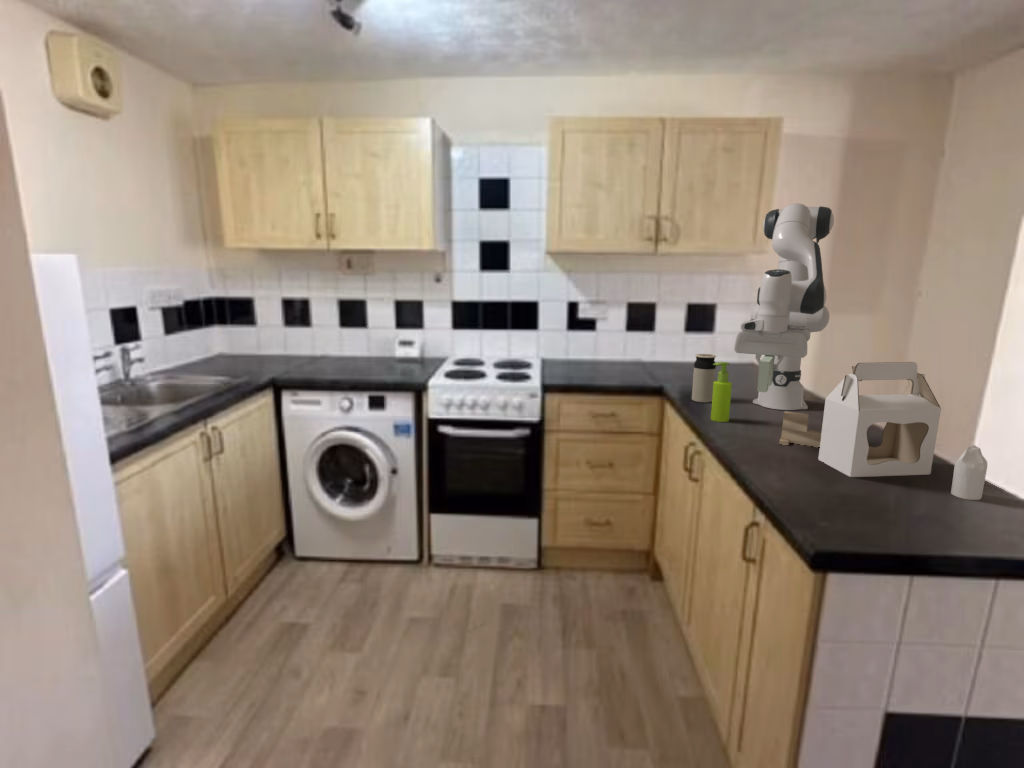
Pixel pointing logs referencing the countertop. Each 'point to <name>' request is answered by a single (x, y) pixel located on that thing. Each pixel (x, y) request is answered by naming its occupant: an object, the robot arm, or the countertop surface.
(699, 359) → the travel mug
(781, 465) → the countertop surface
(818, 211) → the robot arm
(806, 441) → the wooden peg bench
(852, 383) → the gable box
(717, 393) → the soap dispenser
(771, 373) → the grey-green rectangular slab
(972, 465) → the white plastic bottle
